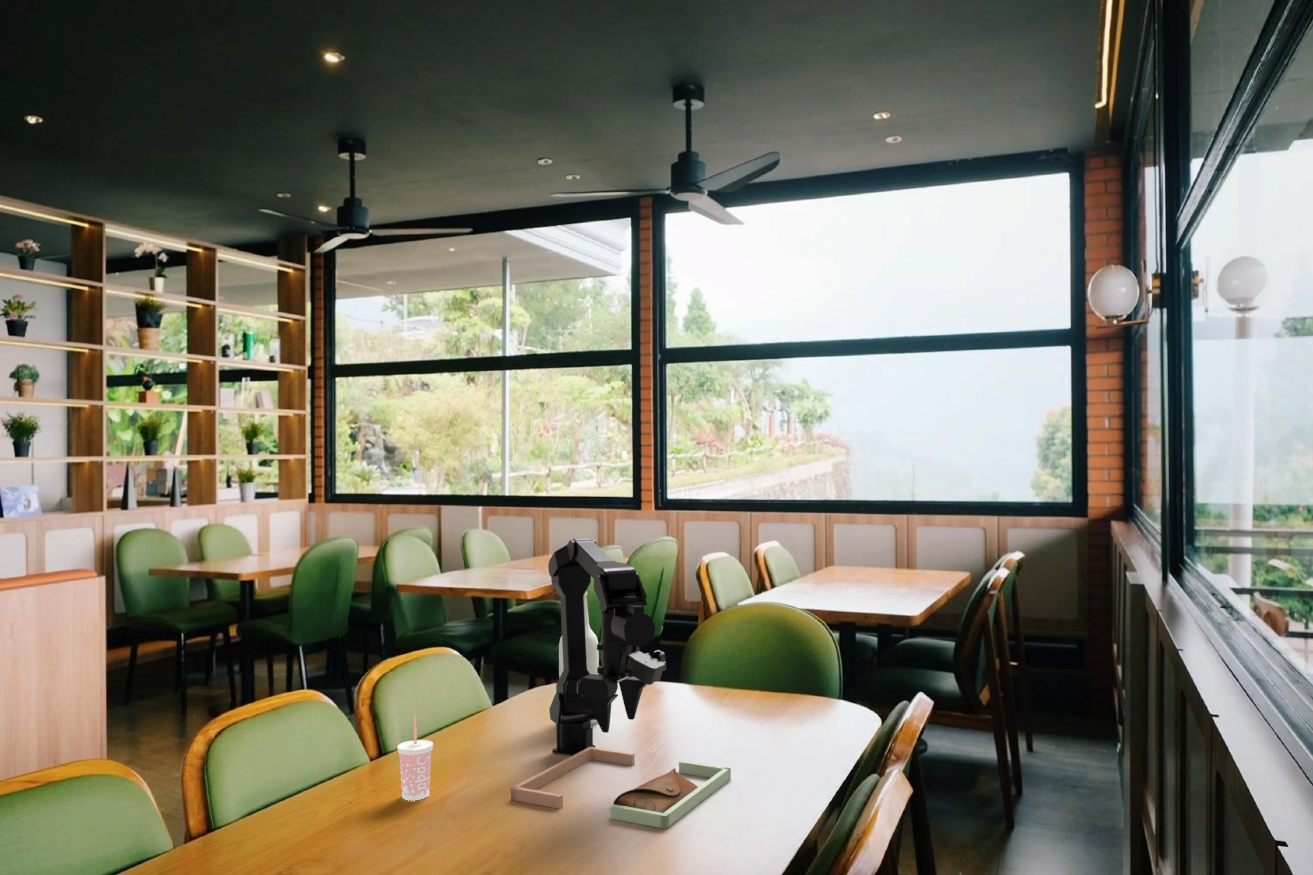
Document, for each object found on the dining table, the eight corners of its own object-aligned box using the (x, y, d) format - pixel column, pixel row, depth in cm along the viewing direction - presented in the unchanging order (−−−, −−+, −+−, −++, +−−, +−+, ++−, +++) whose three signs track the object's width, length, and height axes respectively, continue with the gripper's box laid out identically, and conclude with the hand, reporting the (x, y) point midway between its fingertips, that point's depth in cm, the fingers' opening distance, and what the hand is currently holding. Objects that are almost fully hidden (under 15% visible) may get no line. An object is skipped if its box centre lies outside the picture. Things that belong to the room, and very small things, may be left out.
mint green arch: (611, 818, 155) (611, 806, 155) (681, 771, 178) (681, 760, 178) (666, 828, 151) (665, 815, 151) (730, 778, 174) (730, 767, 174)
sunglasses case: (654, 825, 152) (636, 785, 154) (624, 840, 155) (606, 800, 157) (712, 792, 167) (695, 756, 169) (683, 806, 170) (666, 770, 172)
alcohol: (607, 720, 214) (605, 586, 214) (583, 730, 206) (582, 590, 207) (575, 715, 218) (574, 583, 219) (551, 724, 211) (550, 588, 211)
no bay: (511, 799, 164) (510, 787, 165) (589, 756, 188) (589, 746, 188) (559, 808, 160) (559, 796, 160) (634, 763, 183) (634, 753, 183)
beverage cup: (401, 805, 162) (401, 722, 163) (394, 794, 168) (393, 714, 168) (437, 798, 165) (437, 717, 166) (428, 788, 171) (428, 709, 171)
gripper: (631, 650, 158) (632, 745, 158) (681, 632, 175) (682, 717, 174) (574, 645, 163) (575, 737, 163) (628, 627, 180) (629, 711, 179)
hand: (618, 725), depth 170 cm, fingers open, 9 cm apart
